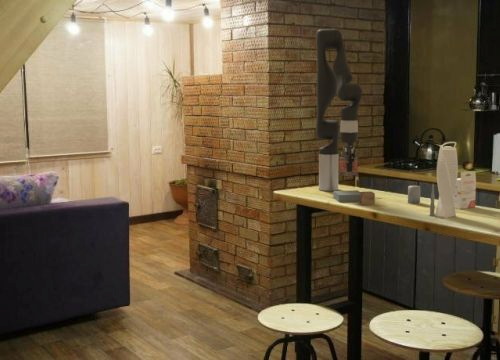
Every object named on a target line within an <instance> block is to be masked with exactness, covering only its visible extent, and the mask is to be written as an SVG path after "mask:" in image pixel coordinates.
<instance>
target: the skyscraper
mask: <svg viewBox="0 0 500 360" xmlns="http://www.w3.org/2000/svg"><path fill="white" fill-rule="evenodd" d="M447 144H454V145H453V146H448V145H447ZM445 145H446V146H445ZM456 146H457V142H456V141H446V142H444V143H443V144H442V145H441V146H440V147H439V151H438V156H437V163H436V182H437V189H438V194H439V195H438V201H437V206H435V198H436V195H435V194H434V192H435V187H434V183H433V182H432V187H431V194H430V205H429V211H430V212H429V215H428V216H429V217H433V216H434V218H438V217H439V218H438V219H443V218H445V219H450V218H455V216H456V217H457V213H456V212H457V211H456V208H455V205H454V198H453V193H454V190H455V186H456V181H457V178H458V174H459V165H458V164H459V161H458V151H457V147H456ZM449 217H450V218H449Z"/></svg>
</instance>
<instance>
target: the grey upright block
mask: <svg viewBox="0 0 500 360" xmlns="http://www.w3.org/2000/svg"><path fill="white" fill-rule="evenodd" d="M419 203H420V204H421V186H420V185H408V186H407V204H410V205H419Z"/></svg>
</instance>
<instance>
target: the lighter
mask: <svg viewBox="0 0 500 360" xmlns="http://www.w3.org/2000/svg"><path fill="white" fill-rule="evenodd" d="M340 155H341V157H339V156H338V160H339V168H338V176H358V175H359V172H358V170H359V169H358V160H359V157H357V156H355V157H354V162H353V163H352V172H348V171H347V158H346V156H345V152H343V151H341V152H340ZM343 155H344V157H342V156H343ZM350 159H351V157H350Z"/></svg>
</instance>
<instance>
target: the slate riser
mask: <svg viewBox="0 0 500 360" xmlns="http://www.w3.org/2000/svg"><path fill="white" fill-rule="evenodd" d="M360 192H361V191H359V190H355V189H354V190H334V191H333V192H332V194H333V199H334V200H336V201H337V202H339V203H347V202H348V203H350V202H360Z"/></svg>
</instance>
